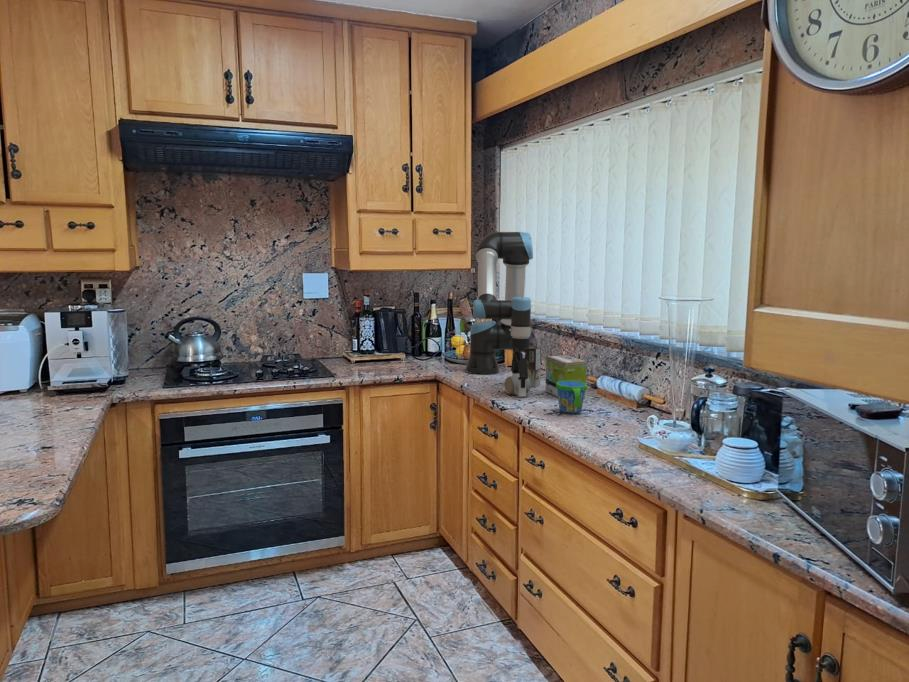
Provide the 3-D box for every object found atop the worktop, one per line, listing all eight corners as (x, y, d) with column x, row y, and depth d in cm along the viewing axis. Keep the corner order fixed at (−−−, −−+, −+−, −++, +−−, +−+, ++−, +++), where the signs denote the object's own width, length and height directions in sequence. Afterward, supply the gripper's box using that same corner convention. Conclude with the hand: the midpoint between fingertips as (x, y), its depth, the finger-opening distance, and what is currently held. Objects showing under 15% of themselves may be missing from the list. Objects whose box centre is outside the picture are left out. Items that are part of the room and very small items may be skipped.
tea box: (544, 392, 265) (545, 355, 263) (566, 390, 269) (567, 354, 267) (563, 400, 251) (564, 361, 250) (586, 398, 255) (587, 360, 253)
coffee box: (540, 385, 279) (542, 347, 277) (535, 387, 274) (536, 349, 272) (520, 382, 284) (521, 345, 282) (514, 385, 278) (515, 347, 276)
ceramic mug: (503, 392, 263) (503, 373, 261) (521, 391, 266) (521, 372, 265) (516, 398, 253) (517, 378, 252) (535, 397, 256) (535, 377, 255)
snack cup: (590, 417, 225) (591, 388, 224) (559, 417, 225) (560, 387, 224) (580, 406, 241) (582, 379, 240) (551, 406, 241) (552, 378, 239)
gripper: (504, 333, 268) (503, 386, 271) (517, 341, 245) (515, 399, 248) (522, 333, 269) (521, 386, 272) (537, 341, 246) (535, 399, 249)
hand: (518, 392), depth 260 cm, fingers closed on ceramic mug, 11 cm apart
